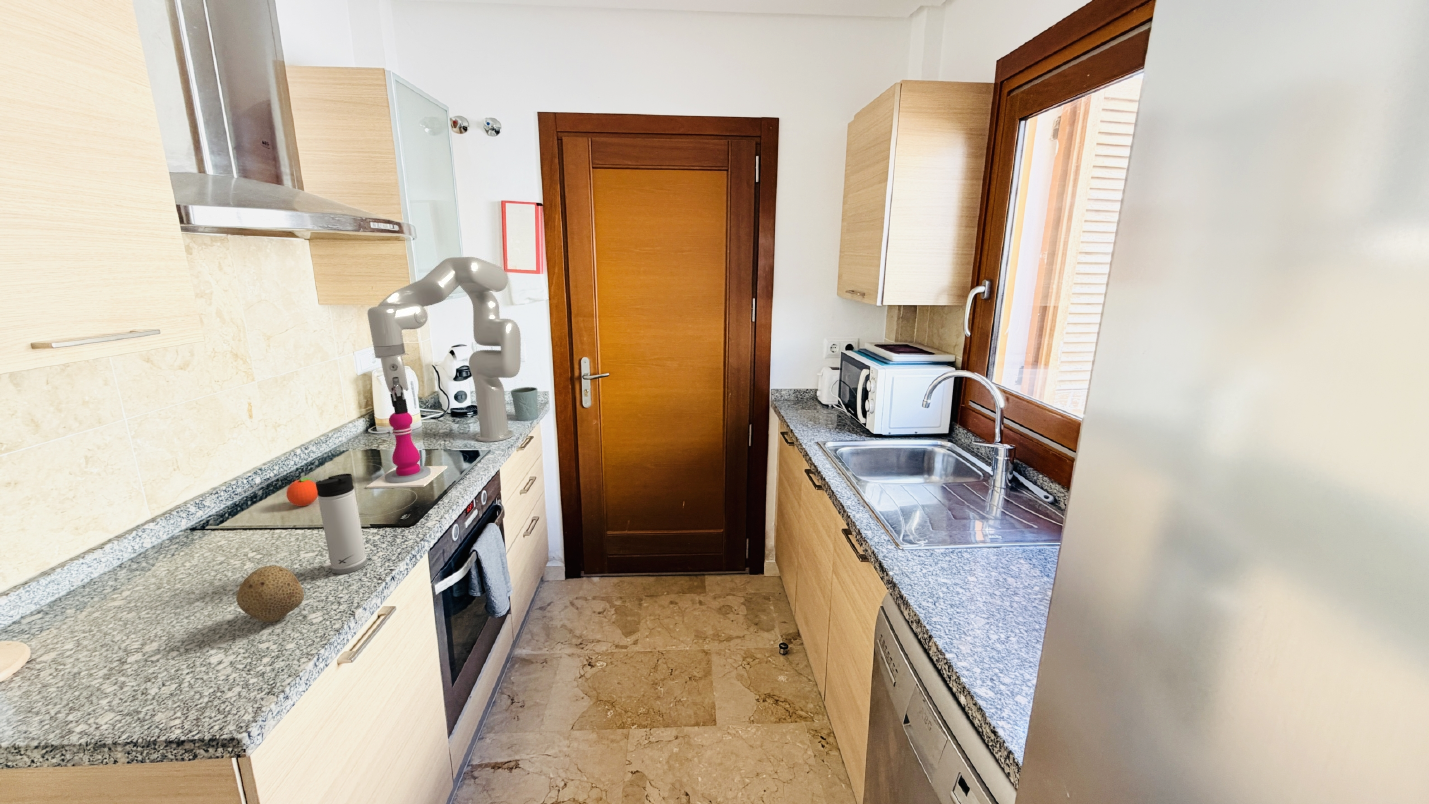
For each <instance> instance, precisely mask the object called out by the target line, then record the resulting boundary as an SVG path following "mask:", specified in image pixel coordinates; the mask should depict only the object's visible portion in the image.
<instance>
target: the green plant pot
mask: <svg viewBox="0 0 1429 804" xmlns="http://www.w3.org/2000/svg"><path fill="white" fill-rule="evenodd" d="M510 394H511V398H512V404H513V409H514V414H515V420H516V421H517V420H518V421H517V422H530V421H535V420H537V419H538V418H539V408H538V405H539V404H538V403H539V402H538V401H539V400H538V398H539V397H538V388H537V387H535V386H524V387H518V388H513V389H512V390H510Z"/></svg>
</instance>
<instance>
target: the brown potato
mask: <svg viewBox="0 0 1429 804" xmlns="http://www.w3.org/2000/svg"><path fill="white" fill-rule="evenodd" d="M304 592H305V591H304V590H303V587H302V584H301V583H300V581H299V580H298V578H297V577H296V575H295V574H294V573H293V572H292V571H291V570H289V569H288V568H286V567H284V566H279V565H278V566H277V565H264V566H262V567H259V568H257V569H255V570H254V571H252V572H251V573H250V574H249V575H247V577H245V579H244V580H243V581H242V582H241V584H240V585H239V587H238V590H237V592H236V593H237V594H236V603H237V606H238V607H239V608H240V609H241V611H242V612H244V613H245V614H246V615H248V616H250V617H251V618H253V619H255V620H257V621H259V622H263V623H274V622H277V621H280V620H282V619H283V618H285V617H286V616H287V615H288V614H289V613H291V612H292V611H294V610H295V609H297V608H298V607H299V606H300V605H301V604H302V603H303V601H304V598H305V597H304V596H305V594H304Z"/></svg>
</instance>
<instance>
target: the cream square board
mask: <svg viewBox="0 0 1429 804" xmlns="http://www.w3.org/2000/svg"><path fill="white" fill-rule="evenodd" d="M396 468H397V466H396V467H393V468H391V469H390V470H388V471H387V472H385V473H384V474H383V475H381V476H379V477H378V478H377V479H375V480H374V481H372V482H371V483H369V484H368V485H366V487H365V489H366V490H368V489H399V488H400V489H401V488H424V487H425V486H427V485H428V484H429V483H431V482H432V481H433V480H434V479H435V478H436V477H438V476H440V474H441V473H443V472H444V471H445V470H446V469H447V468H448V465H433V466H431V465H430V466H428V465H427V466H425V465H420V471H419V472H418V473H416V474H413V475H408V476H399V475H397V474H396Z"/></svg>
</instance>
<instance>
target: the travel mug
mask: <svg viewBox="0 0 1429 804" xmlns="http://www.w3.org/2000/svg"><path fill="white" fill-rule="evenodd" d="M315 484H316V488H317V491H318V492H317V493H318V497H317V498H318V506H319V511H320V516H321V519H322V526H323V531H324V536H325V537H324V538H325V542H326V547H327V552H328V557H329V563H330V568H331V572H332V573H334V574H337V575H344V574H345V575H346V574H350V573H353V572H356V571H359V570H360V569H362V568H364V567H365V566H366V565H367V563H368V559H367V556H366V549H365V542H364V537H363V531H362V524H361V520H360V514H359V513H360V512H359V507H358V503H357V502H358V501H357V497H356V496H357V495H356V490H355V486H354V481H353V476H352V473H340V474H335V475H331V476H328V478H324V479H322V480H318V481H317V480H316V482H315Z"/></svg>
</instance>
